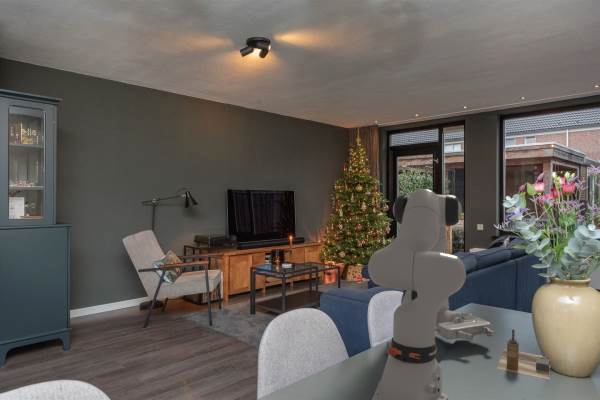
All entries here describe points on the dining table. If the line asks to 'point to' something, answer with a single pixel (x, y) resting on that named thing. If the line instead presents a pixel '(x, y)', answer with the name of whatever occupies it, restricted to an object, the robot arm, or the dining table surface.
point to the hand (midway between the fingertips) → (482, 336)
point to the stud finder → (542, 364)
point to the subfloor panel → (524, 365)
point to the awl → (512, 353)
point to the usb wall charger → (387, 347)
